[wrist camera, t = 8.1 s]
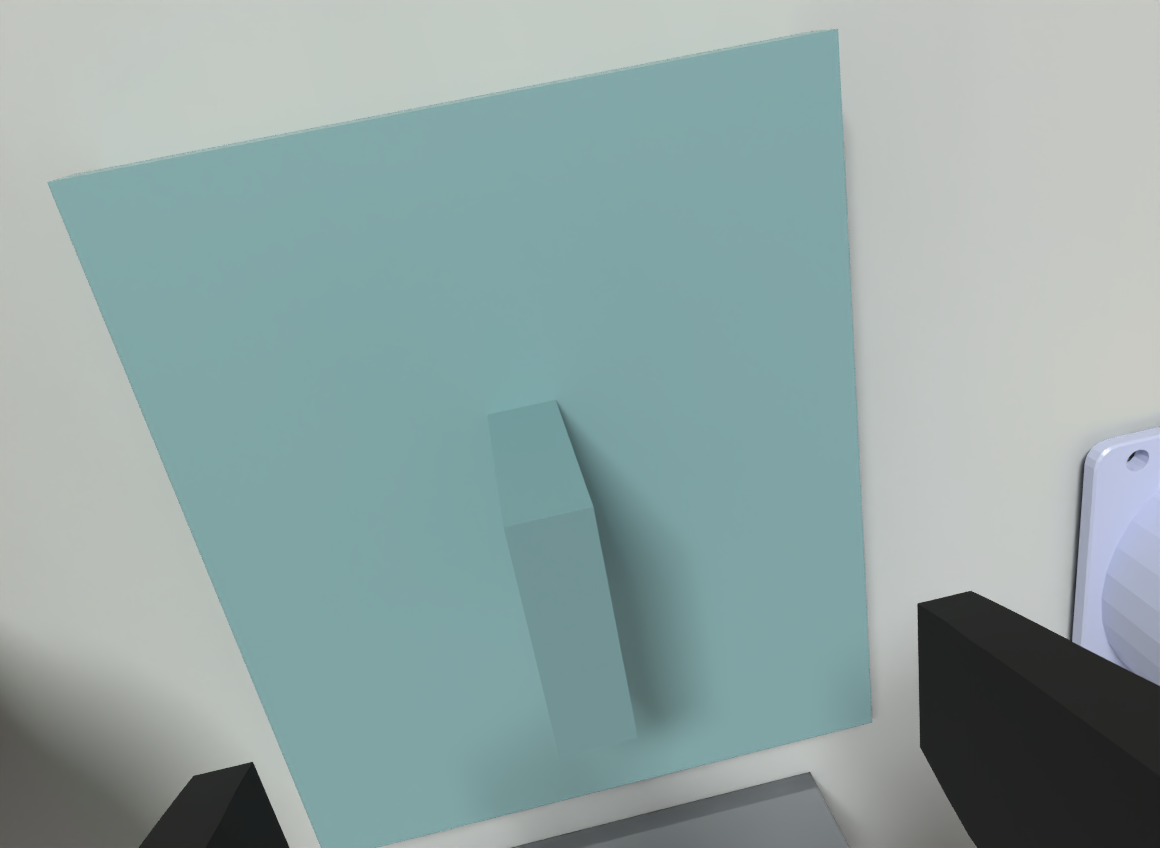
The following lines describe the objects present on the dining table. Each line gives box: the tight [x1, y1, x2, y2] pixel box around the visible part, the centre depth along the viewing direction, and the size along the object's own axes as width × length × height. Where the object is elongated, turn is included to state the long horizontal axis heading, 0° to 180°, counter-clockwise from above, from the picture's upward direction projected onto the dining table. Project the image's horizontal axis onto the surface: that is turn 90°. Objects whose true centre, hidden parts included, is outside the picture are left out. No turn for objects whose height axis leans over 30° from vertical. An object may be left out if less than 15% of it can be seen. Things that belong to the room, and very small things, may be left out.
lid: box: [47, 29, 872, 848], centre depth 15 cm, size 12×14×6 cm
